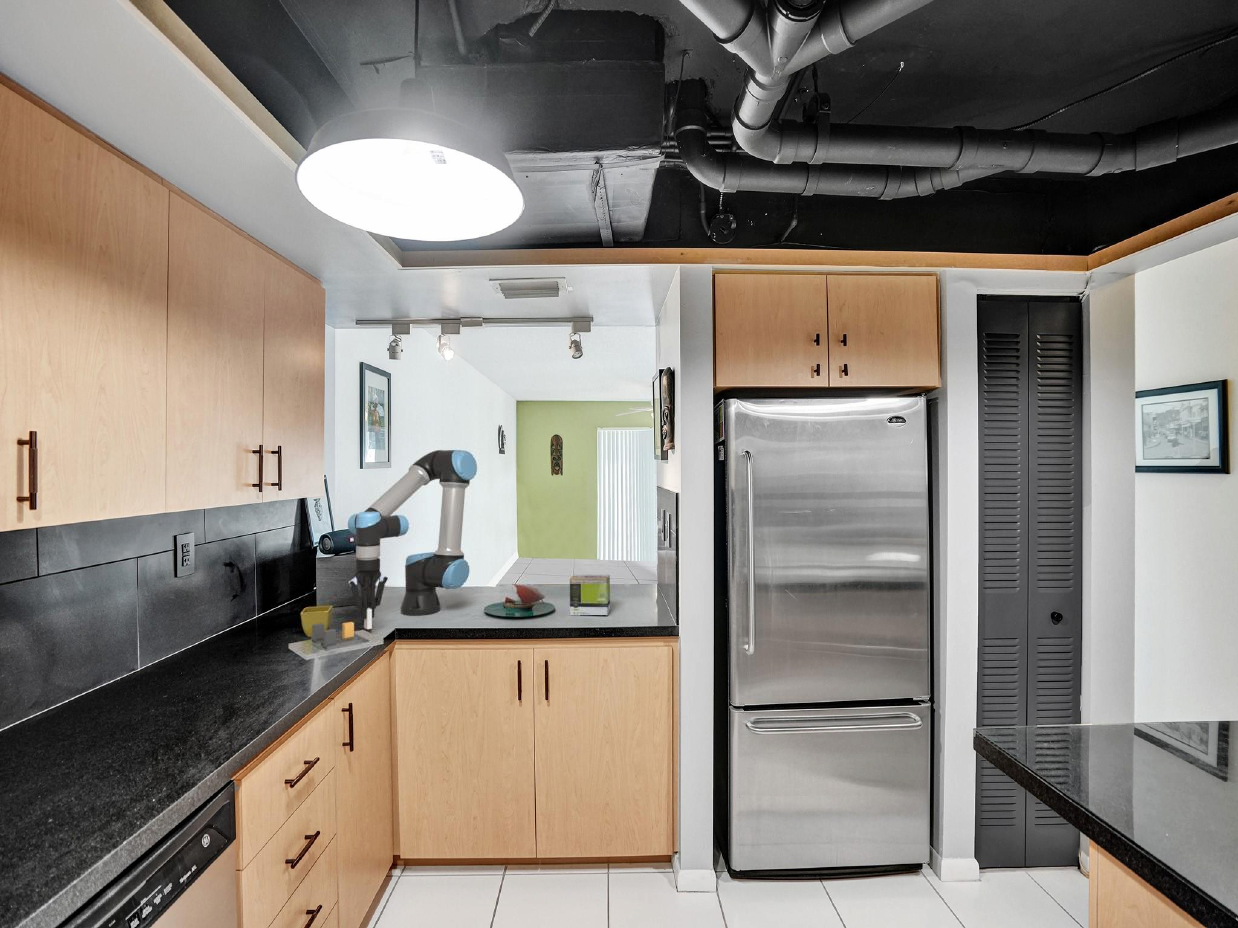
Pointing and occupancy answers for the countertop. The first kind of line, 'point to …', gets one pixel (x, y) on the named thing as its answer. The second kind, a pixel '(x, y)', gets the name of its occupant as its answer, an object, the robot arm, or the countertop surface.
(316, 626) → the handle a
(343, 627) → the orange upright block
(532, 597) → the sailing ship model
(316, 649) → the panel
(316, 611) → the flower pot
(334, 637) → the handle
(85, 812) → the countertop surface
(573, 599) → the tea box
